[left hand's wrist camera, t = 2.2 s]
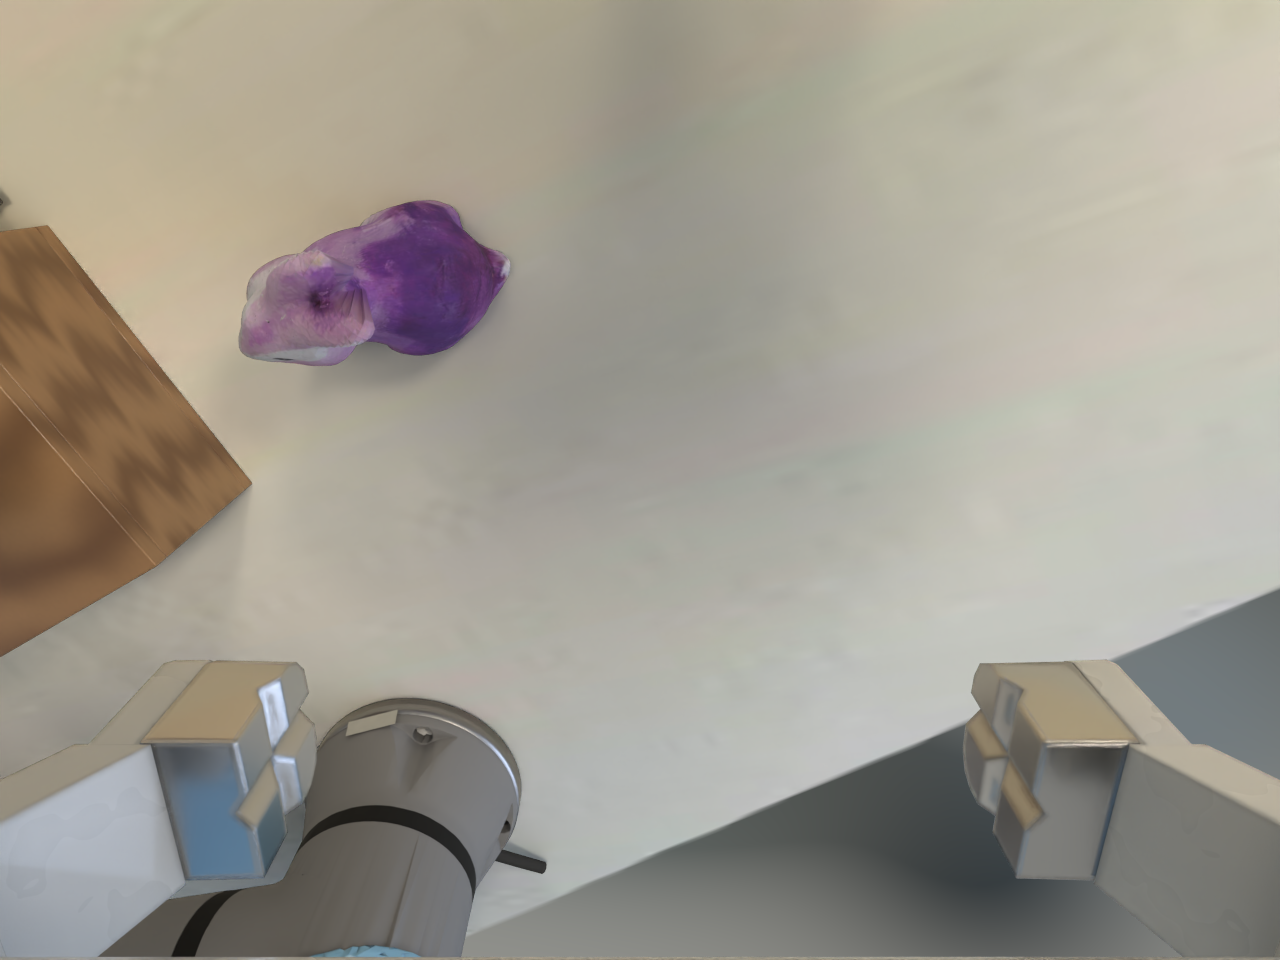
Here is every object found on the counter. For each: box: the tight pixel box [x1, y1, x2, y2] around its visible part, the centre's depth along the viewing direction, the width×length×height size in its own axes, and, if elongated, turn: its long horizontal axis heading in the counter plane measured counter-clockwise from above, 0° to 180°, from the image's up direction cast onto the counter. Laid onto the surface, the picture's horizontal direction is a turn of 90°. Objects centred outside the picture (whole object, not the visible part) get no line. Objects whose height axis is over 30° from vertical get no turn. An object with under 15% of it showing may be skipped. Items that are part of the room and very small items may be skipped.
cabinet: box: [0, 226, 252, 657], centre depth 47 cm, size 18×11×12 cm, turn 30°
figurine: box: [239, 200, 511, 366], centre depth 43 cm, size 9×10×15 cm
